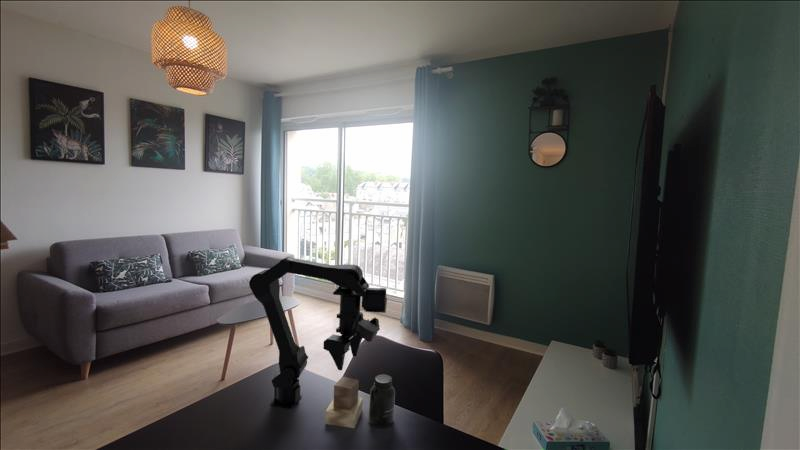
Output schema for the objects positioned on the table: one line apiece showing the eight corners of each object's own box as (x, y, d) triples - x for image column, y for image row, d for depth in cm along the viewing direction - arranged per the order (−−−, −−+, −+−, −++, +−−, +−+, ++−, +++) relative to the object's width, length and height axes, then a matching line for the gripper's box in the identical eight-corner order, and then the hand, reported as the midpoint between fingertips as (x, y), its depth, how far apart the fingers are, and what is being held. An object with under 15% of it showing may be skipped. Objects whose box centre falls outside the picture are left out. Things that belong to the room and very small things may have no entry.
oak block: (325, 425, 96) (325, 410, 96) (335, 407, 104) (335, 393, 103) (354, 429, 95) (355, 414, 94) (362, 411, 103) (362, 397, 102)
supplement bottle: (390, 430, 94) (392, 386, 93) (365, 425, 96) (367, 382, 95) (396, 414, 101) (398, 374, 100) (372, 410, 103) (374, 370, 101)
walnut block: (333, 406, 97) (334, 385, 97) (341, 396, 102) (342, 376, 102) (350, 410, 96) (351, 389, 95) (357, 400, 101) (358, 380, 100)
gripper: (362, 325, 91) (359, 384, 92) (387, 305, 108) (385, 354, 110) (323, 318, 94) (321, 375, 95) (354, 299, 112) (352, 348, 113)
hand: (347, 362), depth 103 cm, fingers open, 9 cm apart
